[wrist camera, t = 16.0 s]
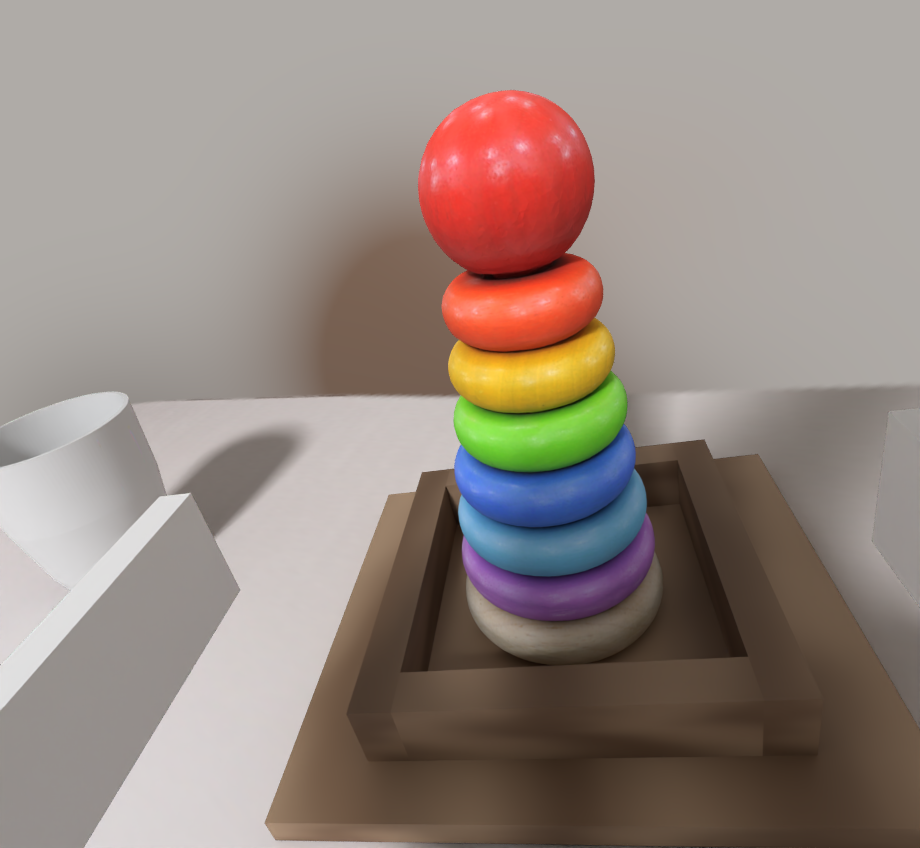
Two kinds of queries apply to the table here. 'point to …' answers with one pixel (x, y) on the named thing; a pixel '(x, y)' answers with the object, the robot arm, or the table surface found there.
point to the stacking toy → (536, 389)
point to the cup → (75, 481)
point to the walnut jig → (610, 695)
